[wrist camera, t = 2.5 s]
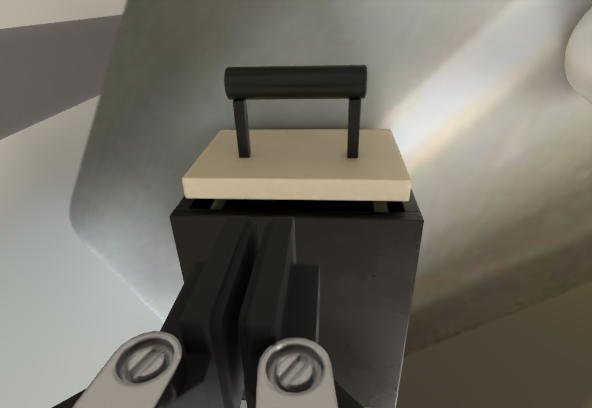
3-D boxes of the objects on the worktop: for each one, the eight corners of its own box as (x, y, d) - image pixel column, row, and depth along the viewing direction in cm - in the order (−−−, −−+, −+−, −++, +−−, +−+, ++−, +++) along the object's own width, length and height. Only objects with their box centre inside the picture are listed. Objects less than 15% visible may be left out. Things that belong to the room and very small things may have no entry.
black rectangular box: (218, 148, 28) (168, 215, 20) (395, 148, 27) (424, 220, 18) (238, 300, 35) (209, 398, 27) (380, 305, 34) (395, 409, 26)
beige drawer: (210, 54, 24) (162, 79, 17) (398, 50, 23) (425, 76, 16) (240, 283, 33) (215, 360, 26) (376, 287, 32) (388, 369, 25)
